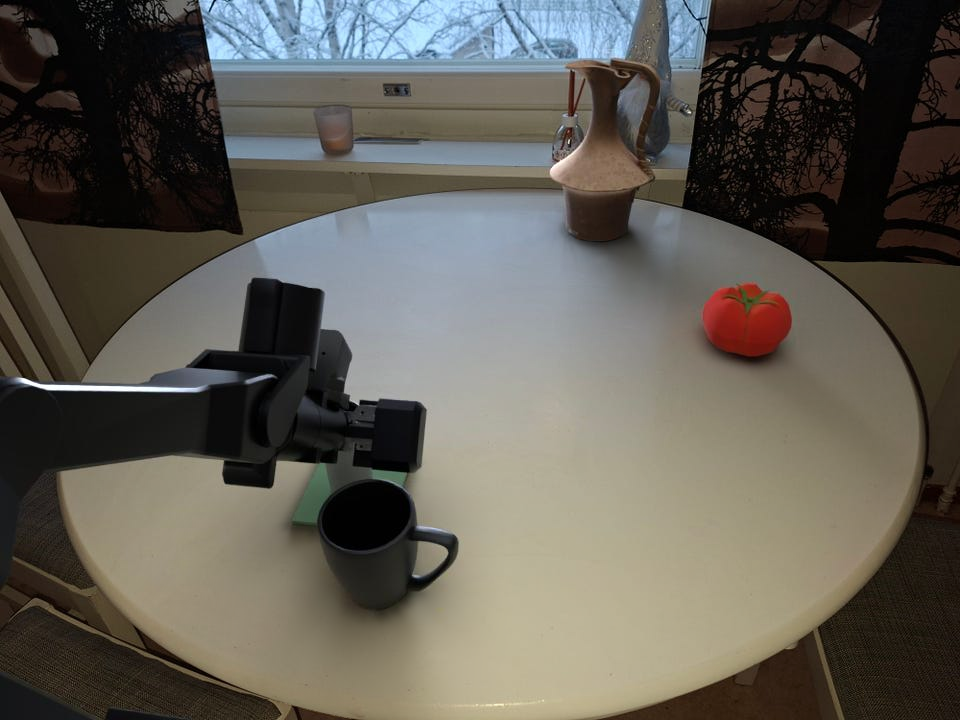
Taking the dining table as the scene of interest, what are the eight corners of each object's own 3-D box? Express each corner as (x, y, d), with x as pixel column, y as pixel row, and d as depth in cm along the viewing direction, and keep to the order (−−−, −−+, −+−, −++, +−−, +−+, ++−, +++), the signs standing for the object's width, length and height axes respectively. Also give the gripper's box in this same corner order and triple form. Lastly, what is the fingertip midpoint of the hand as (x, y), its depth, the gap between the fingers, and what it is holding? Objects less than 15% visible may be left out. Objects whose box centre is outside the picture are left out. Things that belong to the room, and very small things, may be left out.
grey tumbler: (336, 511, 69) (319, 435, 63) (327, 481, 72) (310, 406, 66) (380, 497, 70) (367, 422, 64) (369, 469, 73) (356, 394, 67)
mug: (443, 648, 57) (435, 578, 51) (317, 608, 60) (297, 539, 55) (475, 569, 63) (471, 499, 57) (360, 537, 66) (345, 469, 61)
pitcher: (656, 215, 123) (679, 49, 106) (637, 258, 110) (659, 77, 94) (563, 203, 128) (570, 43, 112) (534, 242, 116) (537, 68, 99)
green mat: (388, 533, 67) (388, 530, 66) (292, 523, 68) (291, 520, 68) (411, 460, 75) (411, 458, 74) (325, 453, 76) (324, 450, 76)
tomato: (795, 339, 91) (810, 290, 86) (760, 377, 84) (774, 327, 80) (721, 311, 97) (731, 265, 92) (683, 346, 90) (691, 298, 86)
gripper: (412, 330, 53) (446, 360, 68) (189, 316, 55) (271, 349, 71) (397, 474, 51) (436, 472, 66) (169, 454, 54) (257, 456, 69)
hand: (348, 433), depth 68 cm, fingers closed on grey tumbler, 4 cm apart
